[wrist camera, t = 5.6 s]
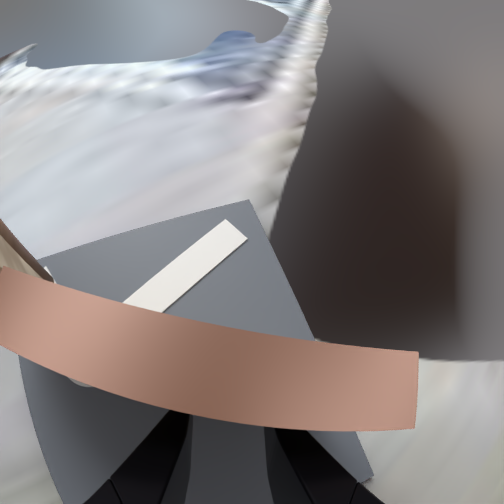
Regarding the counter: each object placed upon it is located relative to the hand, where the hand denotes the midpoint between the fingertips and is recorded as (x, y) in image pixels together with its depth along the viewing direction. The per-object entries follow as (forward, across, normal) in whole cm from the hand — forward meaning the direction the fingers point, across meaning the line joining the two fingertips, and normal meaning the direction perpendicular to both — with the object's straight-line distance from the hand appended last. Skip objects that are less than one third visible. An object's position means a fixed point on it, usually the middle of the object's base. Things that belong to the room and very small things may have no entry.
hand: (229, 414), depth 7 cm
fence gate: (+5, +2, +3) cm, 6 cm away
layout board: (+6, +3, +4) cm, 7 cm away
